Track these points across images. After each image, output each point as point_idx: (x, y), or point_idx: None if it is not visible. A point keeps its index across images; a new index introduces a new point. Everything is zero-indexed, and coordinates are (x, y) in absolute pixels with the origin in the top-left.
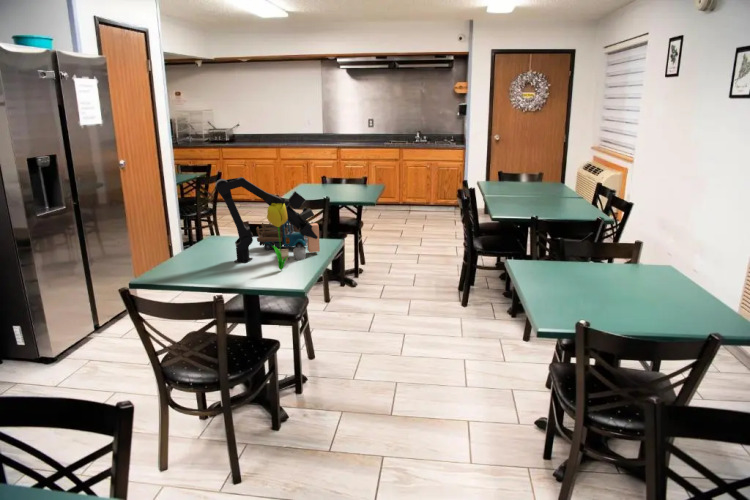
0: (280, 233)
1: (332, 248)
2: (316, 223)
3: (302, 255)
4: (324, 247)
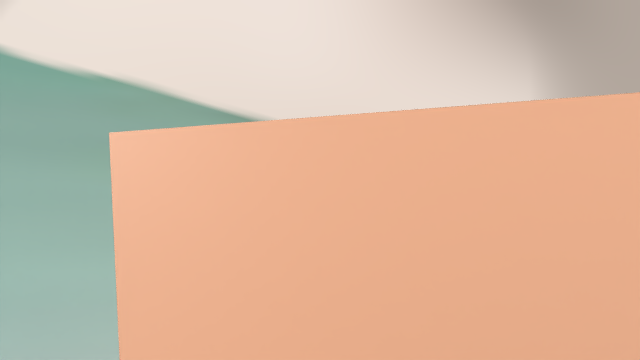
0: None
1: (124, 103)
2: (228, 158)
3: None
4: (38, 183)
